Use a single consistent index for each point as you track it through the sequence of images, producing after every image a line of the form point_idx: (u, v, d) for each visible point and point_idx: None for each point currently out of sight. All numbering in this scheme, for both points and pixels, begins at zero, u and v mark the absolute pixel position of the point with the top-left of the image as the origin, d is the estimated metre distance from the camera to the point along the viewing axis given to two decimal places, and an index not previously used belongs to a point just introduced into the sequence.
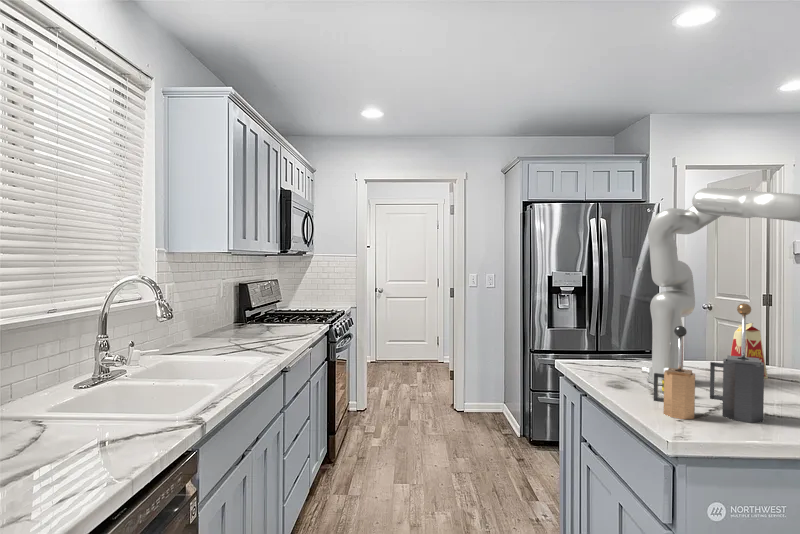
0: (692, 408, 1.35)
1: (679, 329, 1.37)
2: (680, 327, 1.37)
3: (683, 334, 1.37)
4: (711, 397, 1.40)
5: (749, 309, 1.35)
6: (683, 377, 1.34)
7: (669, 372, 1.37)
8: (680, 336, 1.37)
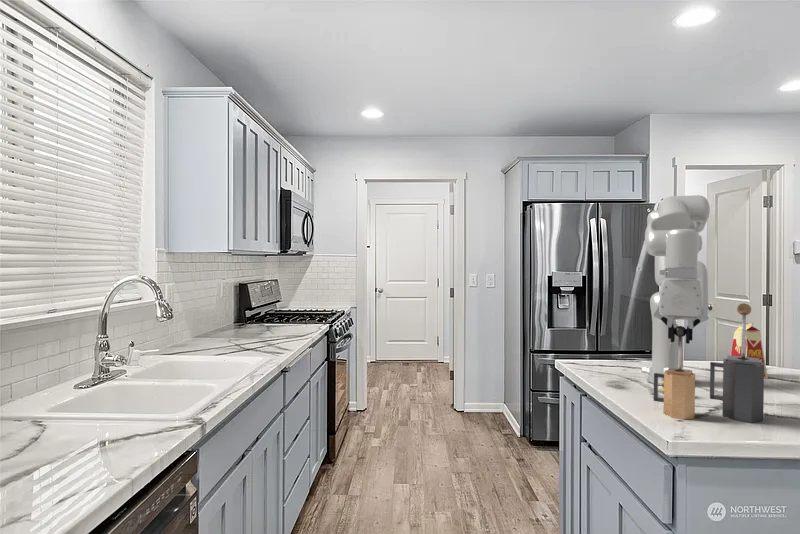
0: (692, 408, 1.35)
1: (679, 329, 1.37)
2: (680, 327, 1.37)
3: (683, 334, 1.37)
4: (711, 397, 1.40)
5: (749, 309, 1.35)
6: (683, 377, 1.34)
7: (669, 372, 1.37)
8: (680, 336, 1.37)
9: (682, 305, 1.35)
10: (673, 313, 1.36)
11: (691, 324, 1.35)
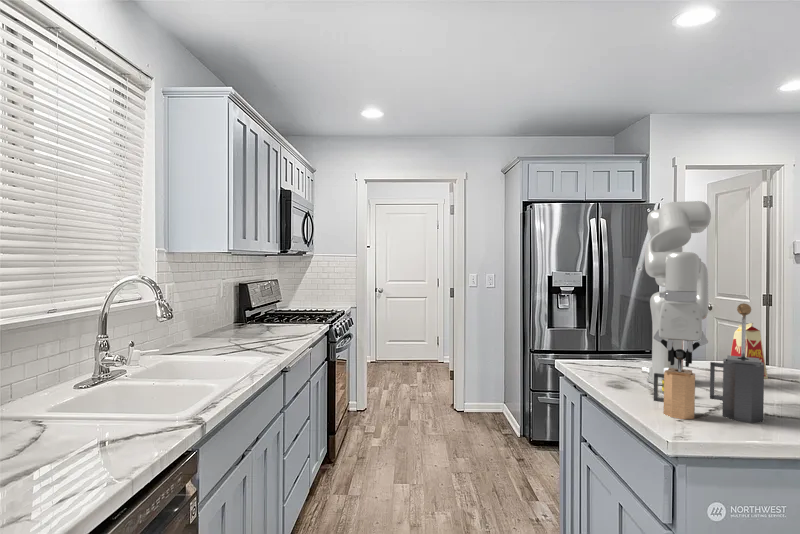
0: (692, 408, 1.35)
1: (679, 352, 1.37)
2: (680, 350, 1.37)
3: (683, 357, 1.37)
4: (711, 397, 1.40)
5: (749, 309, 1.35)
6: (683, 377, 1.34)
7: (669, 372, 1.37)
8: (680, 359, 1.37)
9: (682, 328, 1.35)
10: (672, 336, 1.37)
11: (691, 347, 1.36)
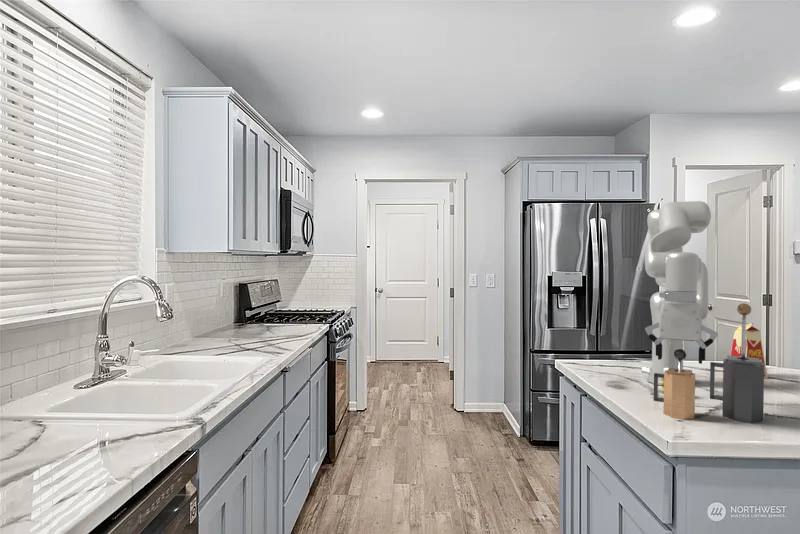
0: (692, 408, 1.35)
1: (679, 352, 1.37)
2: (680, 350, 1.37)
3: (683, 357, 1.37)
4: (711, 397, 1.40)
5: (749, 309, 1.35)
6: (683, 377, 1.34)
7: (669, 372, 1.37)
8: (680, 359, 1.37)
9: (682, 329, 1.35)
10: (672, 336, 1.37)
11: (702, 344, 1.34)
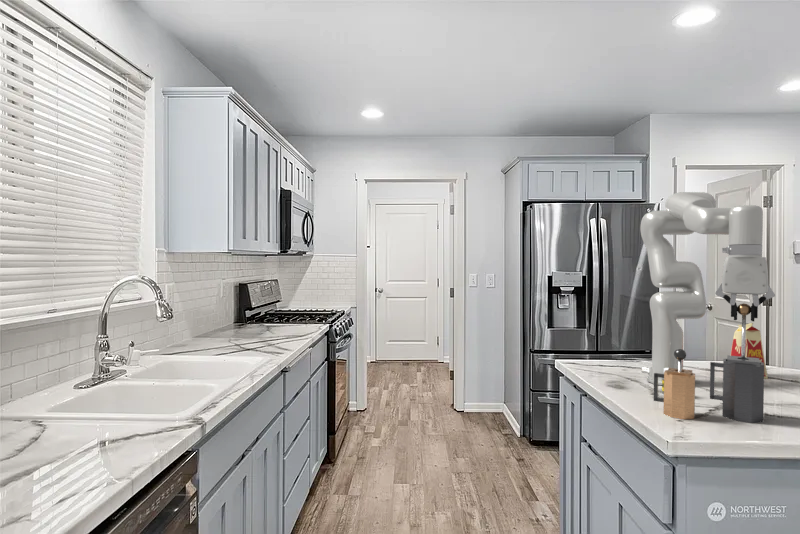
0: (692, 408, 1.35)
1: (679, 352, 1.37)
2: (680, 350, 1.37)
3: (683, 357, 1.37)
4: (711, 397, 1.40)
5: (749, 309, 1.35)
6: (683, 377, 1.34)
7: (669, 372, 1.37)
8: (680, 359, 1.37)
9: (747, 282, 1.34)
10: (737, 291, 1.35)
11: (757, 301, 1.34)
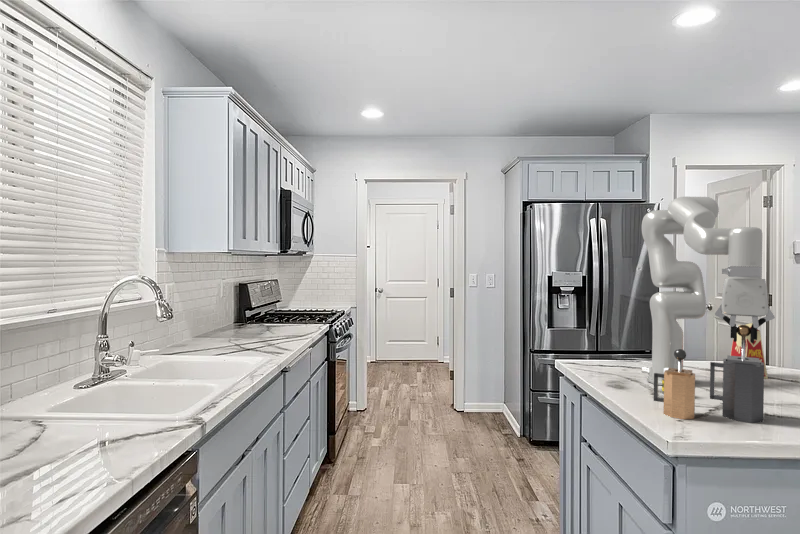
0: (692, 408, 1.35)
1: (679, 352, 1.37)
2: (680, 350, 1.37)
3: (683, 357, 1.37)
4: (711, 397, 1.40)
5: (749, 331, 1.35)
6: (683, 377, 1.34)
7: (669, 372, 1.37)
8: (680, 359, 1.37)
9: (747, 304, 1.34)
10: (737, 312, 1.35)
11: (756, 323, 1.34)
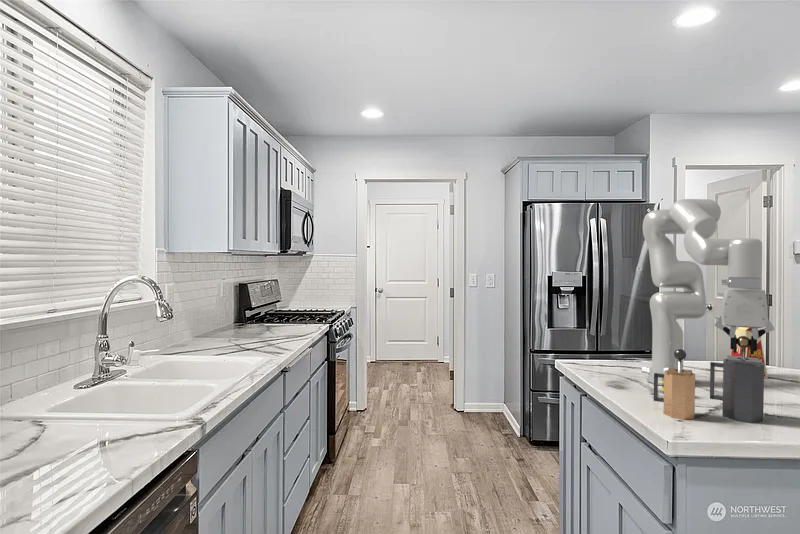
0: (692, 408, 1.35)
1: (679, 352, 1.37)
2: (680, 350, 1.37)
3: (683, 357, 1.37)
4: (711, 397, 1.40)
5: (748, 342, 1.35)
6: (683, 377, 1.34)
7: (669, 372, 1.37)
8: (680, 359, 1.37)
9: (747, 315, 1.34)
10: (737, 323, 1.35)
11: (756, 335, 1.34)
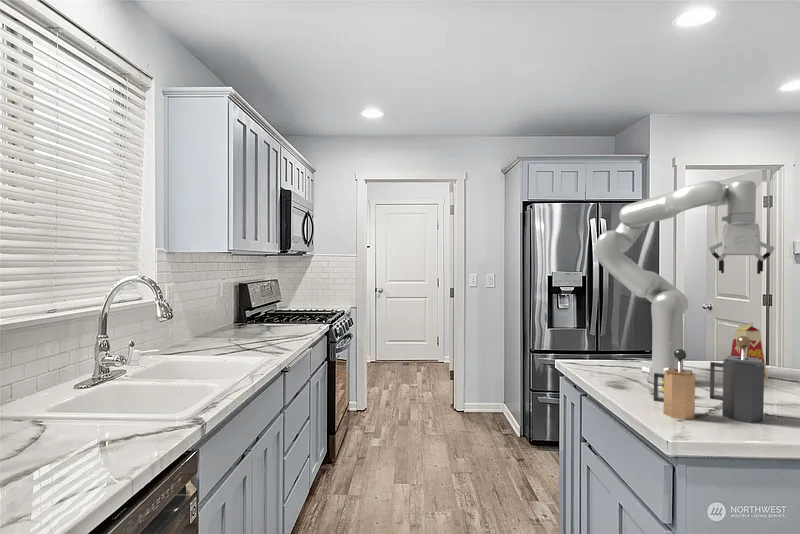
0: (692, 408, 1.35)
1: (679, 352, 1.37)
2: (680, 350, 1.37)
3: (683, 357, 1.37)
4: (711, 397, 1.40)
5: (748, 342, 1.35)
6: (683, 377, 1.34)
7: (669, 372, 1.37)
8: (680, 359, 1.37)
9: (743, 245, 1.60)
10: (734, 252, 1.61)
11: (761, 257, 1.59)
